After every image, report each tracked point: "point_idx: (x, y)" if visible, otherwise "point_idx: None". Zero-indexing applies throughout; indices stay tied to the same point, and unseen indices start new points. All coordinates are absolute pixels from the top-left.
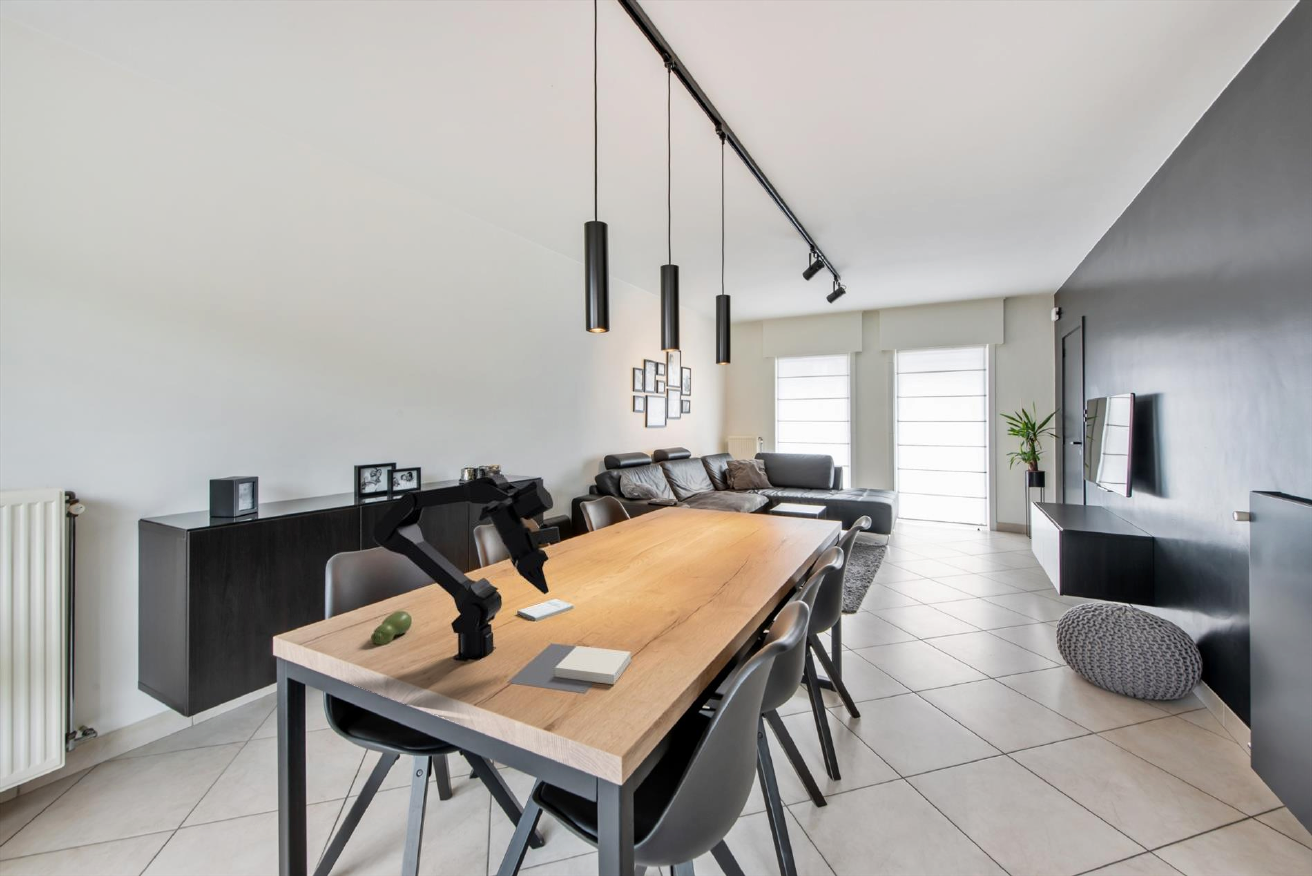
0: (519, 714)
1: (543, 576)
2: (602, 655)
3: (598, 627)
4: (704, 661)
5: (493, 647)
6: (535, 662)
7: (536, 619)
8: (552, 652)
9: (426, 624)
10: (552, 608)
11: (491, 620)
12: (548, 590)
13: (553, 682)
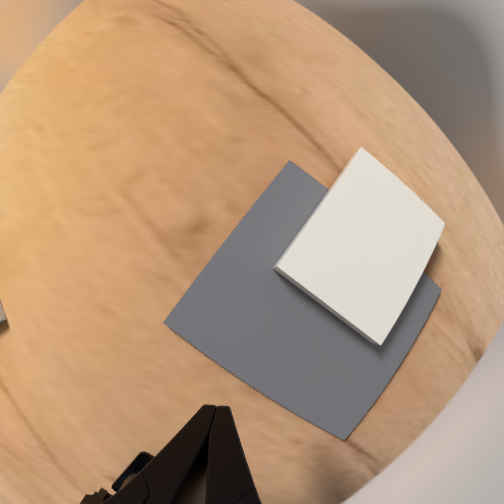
0: (438, 403)
1: (259, 501)
2: (361, 215)
3: (100, 167)
4: (366, 55)
5: (139, 458)
6: (273, 382)
7: (2, 316)
8: (228, 331)
9: (4, 498)
10: None
11: (112, 495)
12: (230, 410)
13: (388, 347)
